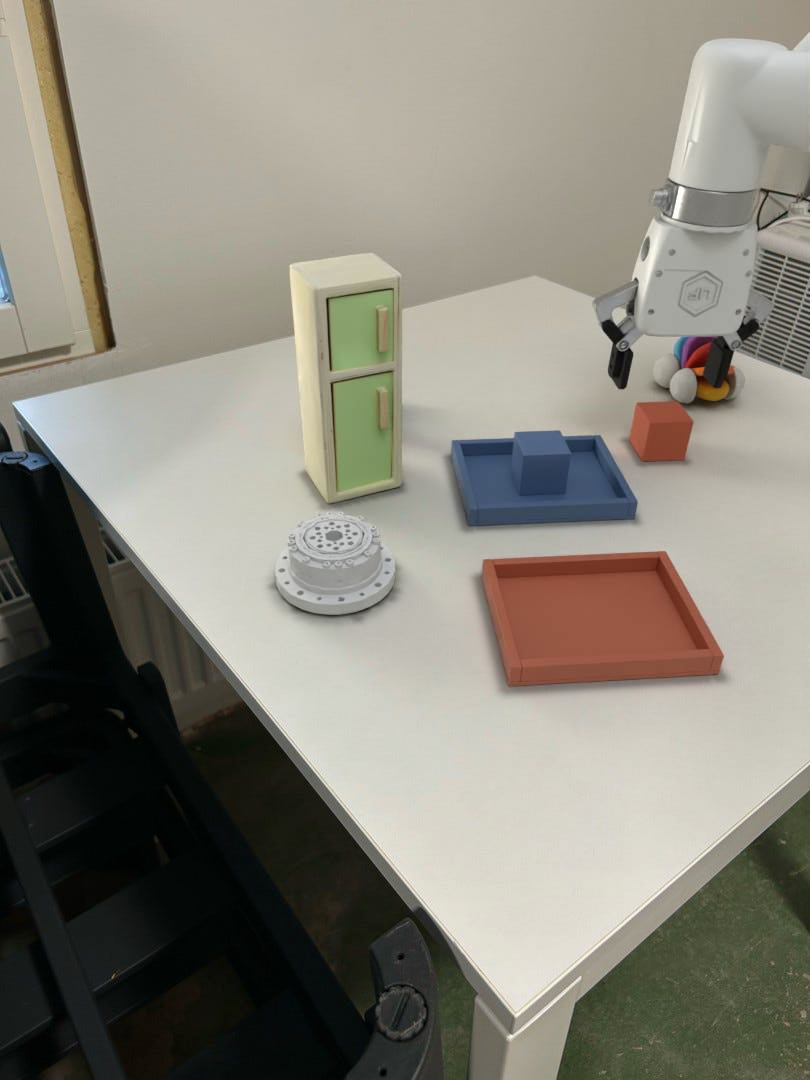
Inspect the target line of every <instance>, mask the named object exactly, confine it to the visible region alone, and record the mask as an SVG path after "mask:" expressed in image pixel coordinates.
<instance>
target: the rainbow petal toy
mask: <svg viewBox="0 0 810 1080" xmlns="http://www.w3.org/2000/svg"><path fill="white" fill-rule="evenodd" d="M714 338H718V336H710V337H678V339H677V340H676V342H675V344H674V346H673V350H672V351H673V353H666V354H663V355H662V356H660V357H659V358H658V359H657V360H656V362H655V364H654V365H653V369H652V373H653V378H654V380H655V382H656V383H657V384H658V385H659V386H660V387H661V388H665V389H669V392H670V394H671V396H672V398H673V399H674V400H675V401H678V402H679V403H680V404H690V403H692V402H693V401H694V400H695V398H696V397H698V398H699V399H702V400H706V401H712V402H715V401H716V402H717V401H720V400H723V399H724V400H729V401H730V400H732V399H735V398H736V397H738V396H739V395H740V394H741V393H742V391H743V390H744V388H745V385H746V379H745V375H744V372H743V371H742V369H741V368H739V367H738V366H736V365H734V364H730V368H729V371H728V374H727V376H725V377H724V380H723V383H722V386H721V388H714V387H712V386H711V384H710V383H709V382H708V381H707V380H706V378H705V377H704V376H703V371H704V368H705V364H706V360H707V356H708V353H709V349H710V345H711V342H712V341H713V339H714Z"/></svg>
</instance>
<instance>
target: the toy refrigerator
mask: <svg viewBox="0 0 810 1080" xmlns="http://www.w3.org/2000/svg"><path fill="white" fill-rule="evenodd" d="M288 269H289V284H290V285H289V286H290V297H291V307H292V320H293V330H294V331H293V333H294V343H295V344H294V345H295V355H296V368H297V378H298V379H297V380H298V390H299V402H300V403H299V405H300V415H301V417H300V418H301V427H302V438H303V450H304V463H305V470H306V473H307V475H308V476H309V478H310V479H311V481H312V482H313V484H314V486H315V488H316V489H317V490H318V492H319V493H320V495H321V496H322V498H323V499H324V501H325V502H326V504H334V503H338V502H342V501H347V500H350V499H355V498H359V497H364V496H367V495H371V494H375V493H379V492H382V491H388V490H391V489H396V488H399V487H401V486H402V483H403V276H402V274H401V273H400V272H399V271H398V270H397V269H395V268H394V267H393V266H391V265H390V264H389V263H388V262H386V261H385V260H384V259H382V258H381V257H379V256H378V255H377V254H376V253H374V252H364V253H355V254H348V255H341V256H335V257H328V258H320V259H314V260H305V261H299V262H293V263H290V265H289V268H288Z"/></svg>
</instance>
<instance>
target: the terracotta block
mask: <svg viewBox="0 0 810 1080" xmlns="http://www.w3.org/2000/svg"><path fill="white" fill-rule="evenodd" d="M694 422H695V421H694V420H693V419H692V417H691V415H690V414H689V413H688V412H687V411H686V409H685V408H684V407H683V405H682V403H681V402H679V401H677V400H673V401H671V400H669V401H668V400H667V401H637V402H636V404H635V409H634V413H633V419H632V424H631V427H630V428H631V429H630V434H629V439H628V440H629V442H630V444H631V446H632V447H633V449H634V450H635V452H636V454H637V455H638V457H639V459H640V460H641V462H662V461H663V462H664V461H665V462H667V461H684V460H685V459H686V454H687V451H688V446H689V443H690V438H691V435H692V430H693V426H694Z"/></svg>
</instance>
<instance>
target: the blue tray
mask: <svg viewBox="0 0 810 1080" xmlns="http://www.w3.org/2000/svg"><path fill="white" fill-rule="evenodd" d="M562 436H563V438H564V440H565V442H566V444H567V446H568V448H569V450H570V452H571V459H570V466H569V472H568V479H567V486H566V493H565V494H546V495H521V496H520V495H519V493H518V490H517V487H516V484H515V481H514V479H513V476H512V473H511V464H512V454H513V444H514V437H505V438H502V437H501V438H481V439H480V438H474V439H472V438H471V439H452V440H451V443H450V444H451V445H450V447H451V448H450V457H451V463H452V466H453V469H454V473H455V478H456V481H457V486H458V490H459V493H460V496H461V497H460V498H461V501H462V504H463V509H464V513H465V517H466V521H467V526H468V527H473V526H475V527H476V526H497V525H500V526H501V525H519V524H520V525H521V524H544V523H545V524H547V523H562V522H563V523H565V522H566V523H569V522H591V521H592V522H593V521H615V520H616V521H617V520H634V519H636V513H637V509H638V504H639V501H638V499H637V498H636V496H635V494H634V492H633V490H632V489H631V486H630V485H629V484H628V481H627V480H626V478H625V476H624V474H623V473H622V471H621V469H620V467H619V466H618V463H617V461H616V460H615V458H614V456H613V455H612V452H611V451H610V450H609V448H608V446H607V444H606V443H605V440H604V439H603V437H602V435H601V434H595V435H593V434H590V435H589V434H588V435H562Z"/></svg>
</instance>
